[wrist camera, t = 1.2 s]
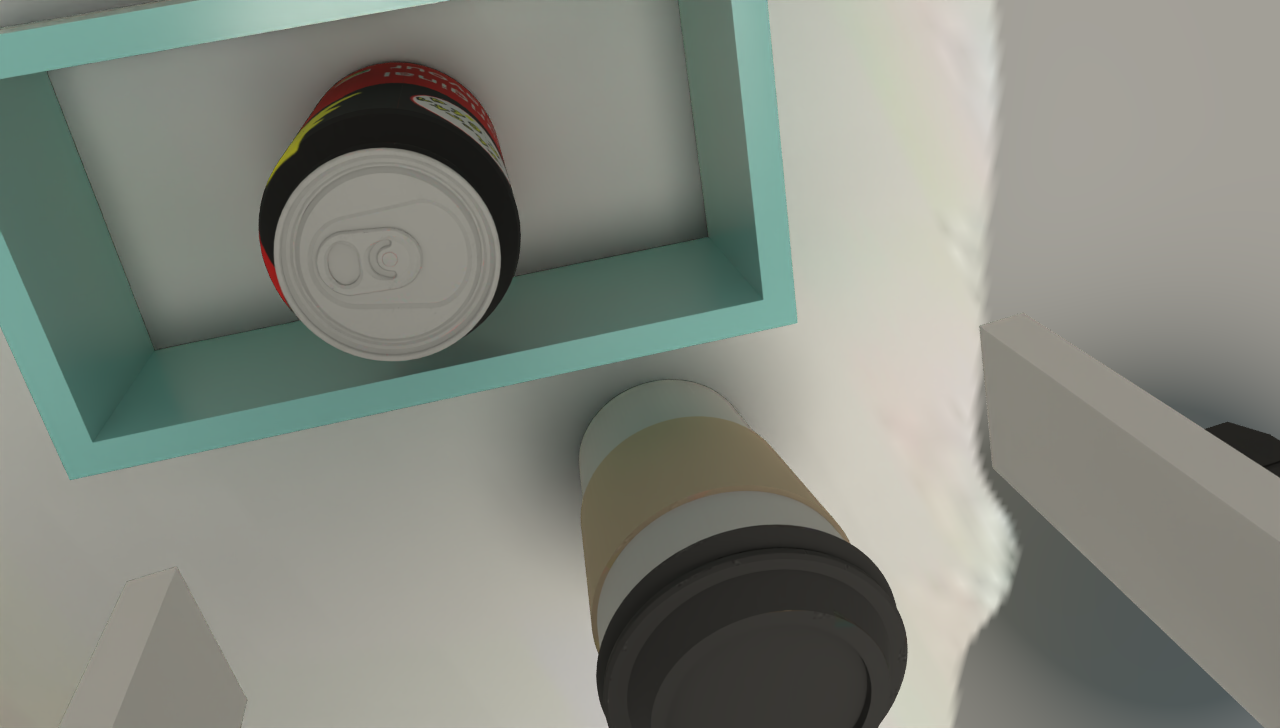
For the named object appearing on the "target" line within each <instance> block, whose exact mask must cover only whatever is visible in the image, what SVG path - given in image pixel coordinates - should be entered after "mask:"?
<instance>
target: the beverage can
mask: <svg viewBox="0 0 1280 728" xmlns="http://www.w3.org/2000/svg"><path fill="white" fill-rule="evenodd" d="M520 239H521V232H520V221H519V215H518V210H517V206H516V203H515V199H514V196H513V192H512V189H511V185H510V181H509V178H508V174H507V171H506V167H505V164H504V160H503V157H502V153H501V150H500V146H499V143H498V139H497V135H496V132H495V130H494V127H493V125H492V123H491V121H490V119H489V117H488V115H487V113H486V112H485V110H484V108H483V107H482V106H481V104H480V103H479V102H478V100H477V99H476V98H475V97H474V96H473V95H472V94H471V93H470V92H469V91H468V90H467V89H466V88H465V87H463V86H462V85H461V84H460V83H458V82H457V81H455V80H454V79H452V78H451V77H449V76H447V75H445V74H443V73H441V72H439V71H437V70H434V69H432V68H429V67H425V66H422V65H418V64H411V63H400V62H394V63H383V64H377V65H373V66H369V67H366V68H363V69H360V70H358V71H356V72H354V73H352V74H350V75H348V76H346V77H345V78H343V79H342V80H340V81H339V82H338V83H336V84H335V85H334V86H333V87H332V88H331V89H330V90H329V91H328V92H327V93H326V94H325V95H324V96H323V98H322V99H321V100H320V102H319V103H318V105H317V106H316V108H315V109H314V110H313V112H312V113H311V115H310V116H309V118H308V119H307V121H306V122H305V124H304V125H303V127H302V128H301V130H300V131H299V132H298V134H297V135H296V137H295V138H294V140H293V141H292V143H291V144H290V146H289V147H288V149H287V150H286V152H285V153H284V154H283V156H282V157H281V159H280V160H279V162H278V163H277V165H276V166H275V168H274V170H273V172H272V174H271V176H270V178H269V180H268V182H267V185H266V187H265V190H264V193H263V197H262V201H261V206H260V213H259V241H260V246H261V252H262V256H263V259H264V263H265V266H266V268H267V271H268V273H269V276H270V278H271V280H272V282H273V284H274V286H275V288H276V290H277V291H278V293H279V295H280V296H281V298H282V299H283V301H284V302H285V303H286V304H287V306H288V307H289V308H290V309H291V311H292V312H293V313H294V314H295V315H296V316H297V317H298V318H299V319H300V321H301V322H302V323H303V324H304V325H305V326H306V327H307V328H308V329H309V330H311V331H312V332H313V333H314V334H315V335H316V336H318V337H319V338H321V339H322V340H323V341H325V342H326V343H328V344H330V345H332V346H333V347H335V348H337V349H339V350H341V351H344V352H346V353H349V354H352V355H354V356H358V357H362V358H365V359H371V360H378V361H406V360H412V359H418V358H422V357H425V356H429V355H431V354H434V353H437V352H439V351H441V350H443V349H445V348H447V347H449V346H451V345H452V344H454V343H456V342H457V341H458V340H460V339H462V338H463V337H465V336H467V335H468V334H469V333H471V332H472V331H473V330H475V329H476V328H477V327H478V326H479V325H481V324H482V323H483V322H484V321H485V320H486V319H487V318H488V317H489V316H490V314H491V313H492V312H493V311H494V310H495V308H496V307H497V306H498V304H499V303H500V302H501V300H502V299H503V297H504V295H505V294H506V292H507V290H508V288H509V286H510V284H511V282H512V279H513V276H514V274H515V271H516V267H517V263H518V259H519V252H520Z"/></svg>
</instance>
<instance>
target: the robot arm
mask: <svg viewBox="0 0 1280 728" xmlns="http://www.w3.org/2000/svg"><path fill="white" fill-rule="evenodd" d="M979 328H980V339H981V349H982V360H983V371H984V381H985V392H986V402H987V412H988V423H989V434H990V445H991V455H992V466H993V468H994V469H995V470H996V471H997V472H998V473H999V474H1000V475H1001V476H1002V477H1003V478H1004V479H1005V480H1006V481H1007V482H1008V483H1009V484H1010V485H1011V486H1012V487H1013V488H1014V489H1015V490H1016V491H1018V492H1019V493H1020V494H1021V495H1022V496H1023V497H1024V498H1025V499H1026V500H1027V501H1028V502H1029V503H1030V504H1031V505H1032V506H1033V507H1034V508H1035V509H1036V510H1037V511H1039V512H1040V513H1041V514H1042V515H1043V516H1044V517H1045V518H1046V519H1047V520H1048V521H1049V522H1050V523H1051V524H1052V525H1053V526H1054V527H1055V528H1056V529H1057V530H1058V531H1059V532H1060V533H1062V534H1063V535H1064V536H1065V537H1066V538H1067V539H1068V540H1069V541H1070V542H1071V543H1072V544H1073V545H1074V546H1075V547H1076V548H1077V549H1078V550H1079V551H1080V552H1082V554H1083V555H1085V556H1086V557H1087V558H1088V559H1089V560H1090V561H1091V562H1092V563H1093V564H1094V565H1095V566H1096V567H1097V568H1098V569H1099V570H1100V571H1101V572H1102V573H1103V574H1104V575H1106V577H1108V578H1109V579H1110V580H1111V581H1112V582H1113V583H1114V584H1115V585H1116V586H1117V587H1118V588H1119V589H1120V590H1121V591H1122V592H1123V593H1124V594H1125V595H1126V596H1127V597H1128V598H1130V599H1131V600H1132V601H1133V602H1134V603H1135V604H1136V605H1137V606H1138V607H1139V608H1140V609H1141V610H1142V611H1143V612H1144V613H1145V614H1146V615H1147V616H1148V617H1149V618H1150V619H1151V620H1152V621H1154V622H1155V623H1156V624H1157V625H1158V626H1159V627H1160V628H1161V629H1162V630H1163V631H1164V632H1165V633H1166V634H1167V635H1168V636H1169V637H1170V638H1171V639H1172V640H1173V641H1174V642H1176V643H1177V644H1178V645H1179V646H1180V647H1181V648H1182V649H1183V650H1184V651H1185V652H1186V653H1187V654H1188V655H1189V656H1190V657H1192V659H1193V660H1194V661H1195V662H1196V663H1198V664H1199V665H1200V666H1201V667H1202V668H1203V669H1204V670H1205V671H1206V672H1207V673H1208V674H1209V675H1210V676H1211V677H1212V678H1213V679H1214V680H1215V681H1216V682H1217V683H1218V684H1219V685H1221V686H1222V687H1223V688H1224V689H1225V690H1226V691H1227V692H1228V693H1229V694H1230V695H1231V696H1232V697H1233V698H1234V699H1235V700H1236V701H1237V702H1238V703H1239V704H1240V705H1241V706H1243V707H1244V708H1245V709H1246V710H1247V711H1248V712H1249V713H1250V714H1251V715H1252V716H1253V717H1254V718H1255V719H1256V720H1257V721H1258V722H1259V723H1260V724H1261V725H1263V727H1265V728H1280V440H1278V439H1276V438H1275V437H1273V436H1271V435H1270V434H1266V433H1263V432H1259V431H1256V430H1253V429H1249V428H1246V427H1243V426H1240V425H1236V424H1233V423H1230V422H1226V423H1222V424H1219V425H1216V426H1213V427H1210V428H1206V429H1203V428H1201V427H1200V426H1198V425H1197V424H1195V423H1194V422H1192V421H1191V420H1189V419H1188V418H1186V417H1184V416H1183V415H1181V414H1180V413H1178V412H1177V411H1175V410H1173V409H1172V408H1170V407H1169V406H1167V405H1166V404H1164V403H1163V402H1161V401H1160V400H1158V399H1156V398H1155V397H1153V396H1152V395H1150V394H1149V393H1147V392H1146V391H1144V390H1142V389H1141V388H1139V387H1138V386H1136V385H1134V384H1133V383H1132V382H1130V381H1129V380H1127V379H1125V378H1124V377H1122V376H1121V375H1119V374H1118V373H1116V372H1115V371H1113V370H1111V369H1110V368H1108V367H1107V366H1105V365H1104V364H1102V363H1101V362H1099V361H1097V360H1096V359H1094V358H1093V357H1091V356H1090V355H1088V354H1086V353H1085V352H1083V351H1082V350H1080V349H1079V348H1077V347H1076V346H1074V345H1073V344H1071V343H1069V342H1068V341H1066V340H1065V339H1063V338H1062V337H1060V336H1059V335H1057V334H1056V333H1054V332H1052V331H1051V330H1049V329H1048V328H1046V327H1045V326H1043V325H1041V324H1040V323H1038V322H1037V321H1035V320H1034V319H1032V318H1031V317H1029V316H1028V315H1026V314H1024V313H1020V314H1017V315H1014V316H1010V317H1007V318H1004V319H1000V320H997V321H994V322H990V323H987V324H984V325H980V326H979ZM246 704H247V698H246V697H245V695H244V693H243V691H242V689H241V687H240V685H239V683H238V681H237V679H236V678H235V676H234V674H233V672H232V670H231V668H230V666H229V664H228V662H227V660H226V659H225V657H224V655H223V653H222V651H221V649H220V647H219V645H218V643H217V641H216V640H215V638H214V636H213V634H212V632H211V630H210V628H209V626H208V624H207V623H206V621H205V619H204V617H203V615H202V613H201V611H200V609H199V607H198V605H197V604H196V602H195V600H194V598H193V596H192V594H191V592H190V590H189V588H188V586H187V585H186V583H185V581H184V579H183V577H182V575H181V573H180V571H179V569H178V567H173V568H170V569H167V570H163V571H160V572H157V573H153V574H150V575H147V576H143V577H140V578H137V579H133V580H130V581H127V582H126V584H125V587H124V589H123V591H122V593H121V595H120V597H119V599H118V601H117V604H116V606H115V608H114V610H113V612H112V614H111V616H110V618H109V621H108V623H107V625H106V627H105V629H104V631H103V633H102V635H101V638H100V640H99V642H98V644H97V646H96V648H95V650H94V653H93V655H92V657H91V659H90V661H89V663H88V665H87V667H86V670H85V672H84V674H83V676H82V678H81V680H80V682H79V684H78V687H77V689H76V691H75V693H74V695H73V697H72V699H71V701H70V704H69V706H68V708H67V710H66V712H65V714H64V716H63V718H62V721H61V723H60V725H59V727H58V728H241V725H242V721H243V716H244V712H245V708H246Z"/></svg>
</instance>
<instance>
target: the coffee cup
mask: <svg viewBox="0 0 1280 728" xmlns="http://www.w3.org/2000/svg"><path fill="white" fill-rule="evenodd" d="M579 471H580V480H581V489H582V498H583V501H582V507H581V529H582V539H583V548H584V558H585V567H586V576H587V586H588V595H589V605H590V614H591V623H592V632H593V638H594V642H595V645H596V649H597V651H598V654H599V655H598V661H597V673H596V678H597V690H598V696H599V700H600V704H601V707H602V709H603V712H604V714H605V717H606V720H607V723H608V726H609V728H878V726H879V725H880V723H881V722H882V720H883V719H884V718H885V716H886V715H887V713H888V711H889V710H890V708H891V706H892V705H893V703H894V701H895V699H896V697H897V694H898V692H899V690H900V687H901V684H902V681H903V678H904V674H905V670H906V664H907V637H906V632H905V628H904V624H903V621H902V618H901V616H900V614H899V612H898V610H897V608H896V603H895V600H894V597H893V594H892V591H891V589H890V587H889V584H888V583H887V581H886V579H885V577H884V576H883V574H882V573H881V571H880V570H879V569H878V567H877V566H876V565H875V564H874V563H873V562H872V561H871V560H870V559H869V558H868V557H867V556H866V555H865V554H864V553H863V552H861V551H860V550H859V549H857V548H856V547H855V546H853V545H851V544H850V542H849V540H848V538H847V536H846V535H845V533H844V531H843V530H842V529H841V527H840V526H839V525H838V523H837V522H836V521H835V520H834V519H833V518H832V516H831V515H830V514H829V513H828V512H827V511H826V510H825V508H824V507H823V506H822V505H821V504H820V503H819V501H818V500H817V499H816V498H815V497H814V496H813V494H812V493H811V492H810V491H809V490H808V489H807V488H806V486H805V485H804V484H803V483H802V482H801V481H800V479H799V478H798V477H797V476H796V475H795V474H794V473H793V471H792V470H791V469H790V468H789V467H788V466H787V464H786V463H785V462H784V461H783V460H782V459H781V457H780V456H779V455H778V454H777V453H776V452H775V451H774V449H773V448H772V447H771V446H770V445H769V444H768V443H767V442H766V441H765V440H764V439H763V438H762V437H760V436H759V435H758V434H756V433H755V432H754V431H753V430H752V429H751V428H750V427H749V425H748V424H747V423H746V422H745V421H744V419H743V418H742V417H741V416H740V415H739V413H738V412H737V411H736V410H735V409H734V408H733V406H732V405H731V404H730V403H729V402H728V401H727V400H726V399H725V398H724V397H722V396H721V395H720V394H718V393H717V392H715V391H714V390H712V389H710V388H708V387H706V386H703V385H700V384H698V383H694V382H690V381H684V380H659V381H653V382H648V383H644V384H641V385H638V386H636V387H633V388H631V389H629V390H627V391H625V392H623V393H621V394H619V395H618V396H616V397H615V398H614V399H612V400H611V401H610V402H608V403H607V404H606V405H605V406H604V407H603V408H602V409H601V410H600V411H599V412H598V413H597V414H596V416H595V417H594V418H593V420H592V421H591V423H590V424H589V426H588V428H587V430H586V432H585V434H584V436H583V439H582V442H581V446H580V451H579Z"/></svg>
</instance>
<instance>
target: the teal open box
mask: <svg viewBox="0 0 1280 728" xmlns="http://www.w3.org/2000/svg"><path fill="white" fill-rule="evenodd" d="M443 1H448V0H161V1H155V2H149V3H143V4H137V5H131V6H125V7H120V8H114V9H108V10H102V11H96V12H90V13H84V14H78V15H73V16H67V17H61V18H55V19H49V20H43V21H37V22H31V23H26V24H20V25H14V26H8V27H2V28H0V327H1V329H2V331H3V334H4V336H5V338H6V340H7V342H8V345H9V347H10V349H11V351H12V353H13V356H14V358H15V360H16V362H17V364H18V367H19V369H20V371H21V373H22V375H23V378H24V380H25V382H26V384H27V387H28V389H29V391H30V393H31V395H32V398H33V400H34V402H35V404H36V406H37V409H38V411H39V413H40V415H41V417H42V420H43V422H44V424H45V426H46V428H47V431H48V433H49V435H50V437H51V439H52V442H53V444H54V446H55V448H56V450H57V453H58V455H59V457H60V459H61V461H62V464H63V466H64V468H65V470H66V473H67V475H68V477H69V479H70V480H73V479H78V478H82V477H87V476H92V475H96V474H101V473H106V472H110V471H115V470H119V469H124V468H129V467H133V466H138V465H143V464H147V463H152V462H156V461H161V460H166V459H170V458H175V457H180V456H184V455H189V454H193V453H198V452H203V451H207V450H212V449H217V448H221V447H226V446H230V445H235V444H240V443H244V442H249V441H254V440H258V439H263V438H268V437H272V436H277V435H281V434H286V433H291V432H295V431H300V430H305V429H309V428H314V427H318V426H323V425H328V424H332V423H337V422H342V421H346V420H351V419H355V418H360V417H365V416H369V415H374V414H379V413H383V412H388V411H392V410H397V409H402V408H406V407H411V406H416V405H420V404H425V403H430V402H434V401H439V400H443V399H448V398H453V397H457V396H462V395H467V394H471V393H476V392H480V391H485V390H490V389H494V388H499V387H504V386H508V385H513V384H517V383H522V382H527V381H531V380H536V379H541V378H545V377H550V376H554V375H559V374H564V373H568V372H573V371H578V370H582V369H587V368H592V367H596V366H601V365H605V364H610V363H615V362H619V361H624V360H629V359H633V358H638V357H642V356H647V355H652V354H656V353H661V352H666V351H670V350H675V349H679V348H684V347H689V346H693V345H698V344H703V343H707V342H712V341H716V340H721V339H726V338H730V337H735V336H740V335H744V334H749V333H754V332H758V331H763V330H767V329H772V328H777V327H781V326H786V325H791V324H795V323H797V312H796V302H795V291H794V280H793V270H792V259H791V248H790V238H789V227H788V216H787V205H786V195H785V184H784V173H783V163H782V152H781V141H780V131H779V120H778V109H777V99H776V88H775V77H774V66H773V56H772V45H771V34H770V24H769V13H768V2H767V0H678V5H679V12H680V20H681V28H682V36H683V44H684V51H685V59H686V67H687V75H688V82H689V90H690V98H691V106H692V113H693V121H694V129H695V137H696V145H697V152H698V160H699V168H700V176H701V183H702V191H703V199H704V207H705V214H706V222H707V230H708V237H706V238H701V239H696V240H691V241H686V242H681V243H676V244H672V245H667V246H662V247H657V248H652V249H647V250H642V251H637V252H632V253H628V254H623V255H618V256H613V257H608V258H603V259H598V260H593V261H589V262H584V263H579V264H574V265H569V266H564V267H559V268H554V269H550V270H545V271H540V272H535V273H530V274H525V275H520V276H515V277H513V279H512V282H511V284H510V286H509V288H508V290H507V292H506V294H505V295H504V297H503V299H502V300H501V302H500V303H499V304H498V306H497V307H496V308H495V310H494V311H493V312H492V313H491V314H490V316H489V317H488V318H487V319H486V320H485V321H484V322H483V323H482V324H481V325H479V326H478V327H477V328H476V329H475V330H473V331H472V332H471V333H469V334H468V335H467V336H465V337H463V338H462V339H460V340H458V341H457V342H456V343H454V344H452V345H451V346H449V347H447V348H445V349H443V350H441V351H439V352H437V353H434V354H431V355H429V356H425V357H422V358H418V359H412V360H406V361H378V360H371V359H365V358H362V357H358V356H354V355H352V354H349V353H346V352H344V351H341V350H339V349H337V348H335V347H333V346H332V345H330V344H328V343H326V342H325V341H323V340H322V339H321V338H319V337H318V336H316V335H315V334H314V333H313V332H312V331H311V330H309V329H308V328H307V327H306V326H305V325H304V324H303V323H302V322H301V321H296V322H291V323H286V324H281V325H276V326H271V327H267V328H262V329H257V330H252V331H247V332H242V333H237V334H232V335H227V336H223V337H218V338H213V339H208V340H203V341H198V342H193V343H188V344H184V345H179V346H174V347H169V348H164V349H159V350H154V348H153V345H152V343H151V340H150V337H149V335H148V332H147V330H146V327H145V324H144V322H143V319H142V317H141V314H140V312H139V309H138V306H137V304H136V301H135V299H134V296H133V294H132V291H131V288H130V286H129V283H128V281H127V278H126V276H125V273H124V270H123V268H122V265H121V263H120V260H119V257H118V255H117V252H116V250H115V247H114V245H113V242H112V239H111V237H110V234H109V232H108V229H107V227H106V224H105V221H104V219H103V216H102V214H101V211H100V208H99V206H98V203H97V201H96V198H95V196H94V193H93V190H92V188H91V185H90V183H89V180H88V178H87V175H86V172H85V170H84V167H83V165H82V162H81V160H80V157H79V154H78V152H77V149H76V147H75V144H74V141H73V139H72V136H71V134H70V131H69V129H68V126H67V123H66V121H65V118H64V116H63V113H62V111H61V108H60V105H59V103H58V100H57V98H56V95H55V92H54V90H53V87H52V85H51V82H50V80H49V77H48V74H47V72H46V71H49V70H55V69H60V68H66V67H72V66H77V65H83V64H89V63H94V62H100V61H106V60H112V59H117V58H123V57H129V56H134V55H140V54H146V53H152V52H157V51H163V50H169V49H174V48H180V47H186V46H192V45H197V44H203V43H209V42H214V41H220V40H226V39H231V38H237V37H243V36H249V35H254V34H260V33H266V32H271V31H277V30H283V29H289V28H294V27H300V26H306V25H311V24H317V23H323V22H329V21H334V20H340V19H346V18H351V17H357V16H363V15H369V14H374V13H380V12H386V11H391V10H397V9H403V8H408V7H414V6H420V5H426V4H431V3H437V2H443Z"/></svg>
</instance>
